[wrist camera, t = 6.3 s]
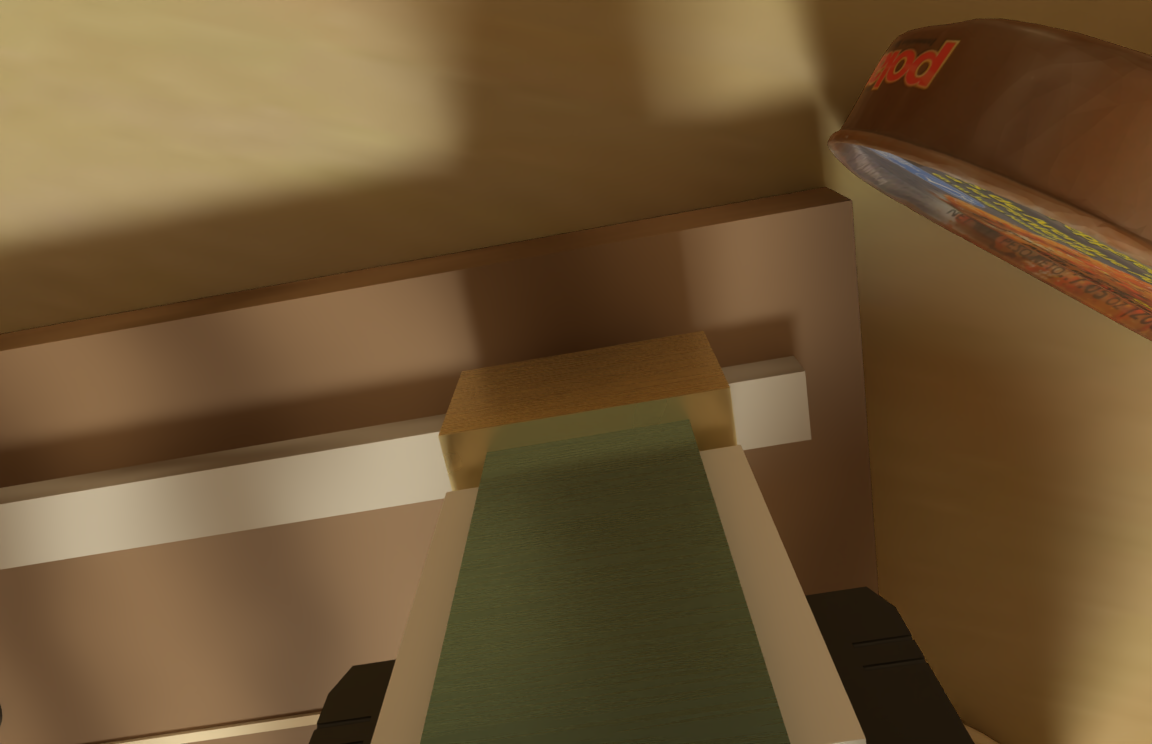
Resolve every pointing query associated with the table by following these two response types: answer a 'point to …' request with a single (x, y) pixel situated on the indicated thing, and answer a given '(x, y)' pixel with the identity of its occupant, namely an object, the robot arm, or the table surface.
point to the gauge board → (368, 456)
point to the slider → (597, 558)
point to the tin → (1020, 151)
